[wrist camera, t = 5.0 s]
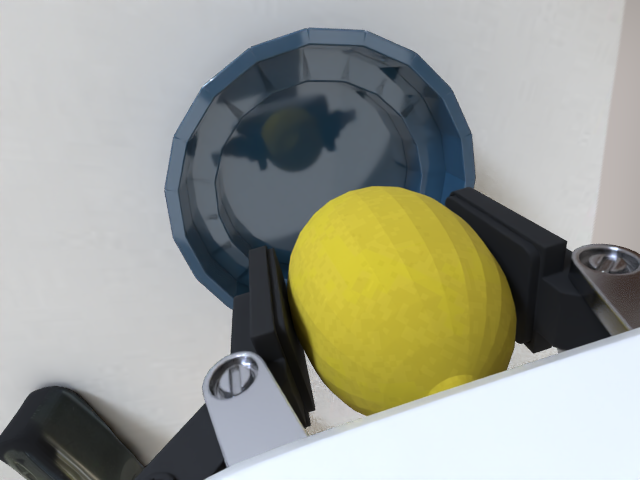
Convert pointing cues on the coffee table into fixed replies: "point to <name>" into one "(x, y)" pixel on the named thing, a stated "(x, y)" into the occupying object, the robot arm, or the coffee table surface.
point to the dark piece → (64, 441)
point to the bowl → (305, 145)
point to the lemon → (397, 299)
